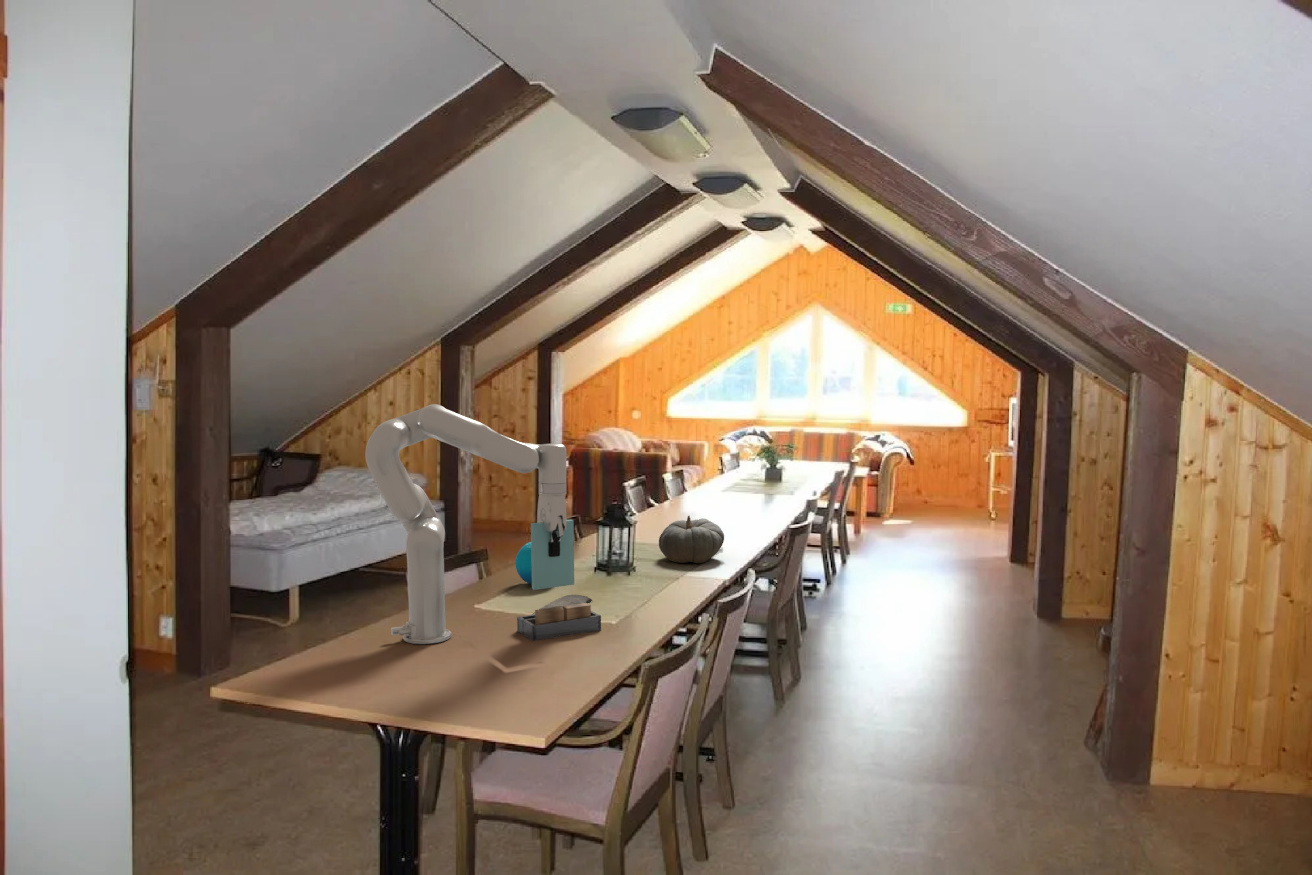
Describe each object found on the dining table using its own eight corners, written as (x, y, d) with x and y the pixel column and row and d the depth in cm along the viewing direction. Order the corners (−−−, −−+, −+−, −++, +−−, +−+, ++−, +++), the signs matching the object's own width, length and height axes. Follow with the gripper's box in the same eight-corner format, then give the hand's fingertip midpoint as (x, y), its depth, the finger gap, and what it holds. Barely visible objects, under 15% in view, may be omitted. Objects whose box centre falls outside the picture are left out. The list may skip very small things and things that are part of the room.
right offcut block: (567, 634, 253) (567, 608, 253) (562, 631, 256) (562, 606, 256) (590, 630, 257) (590, 605, 257) (586, 627, 260) (585, 602, 259)
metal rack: (533, 644, 247) (532, 625, 247) (517, 634, 257) (517, 616, 256) (601, 633, 257) (600, 615, 257) (583, 624, 267) (583, 607, 266)
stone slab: (595, 595, 294) (556, 615, 266) (595, 605, 294) (556, 626, 266) (565, 593, 297) (523, 613, 269) (565, 603, 298) (523, 624, 269)
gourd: (721, 546, 371) (718, 504, 367) (730, 569, 347) (726, 525, 343) (658, 553, 370) (654, 511, 366) (663, 577, 346) (658, 533, 342)
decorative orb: (542, 591, 307) (541, 546, 306) (506, 586, 315) (505, 542, 314) (569, 582, 320) (568, 539, 319) (534, 578, 328) (533, 535, 327)
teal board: (534, 589, 255) (533, 524, 254) (531, 588, 256) (530, 523, 255) (574, 584, 261) (573, 520, 260) (571, 583, 262) (571, 519, 261)
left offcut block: (540, 638, 249) (539, 612, 249) (535, 635, 252) (535, 609, 252) (564, 634, 253) (563, 608, 252) (559, 631, 256) (559, 606, 255)
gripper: (528, 486, 262) (528, 552, 263) (551, 493, 248) (551, 562, 249) (553, 485, 265) (553, 549, 267) (577, 491, 252) (577, 559, 253)
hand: (552, 555), depth 258 cm, fingers closed on teal board, 1 cm apart
